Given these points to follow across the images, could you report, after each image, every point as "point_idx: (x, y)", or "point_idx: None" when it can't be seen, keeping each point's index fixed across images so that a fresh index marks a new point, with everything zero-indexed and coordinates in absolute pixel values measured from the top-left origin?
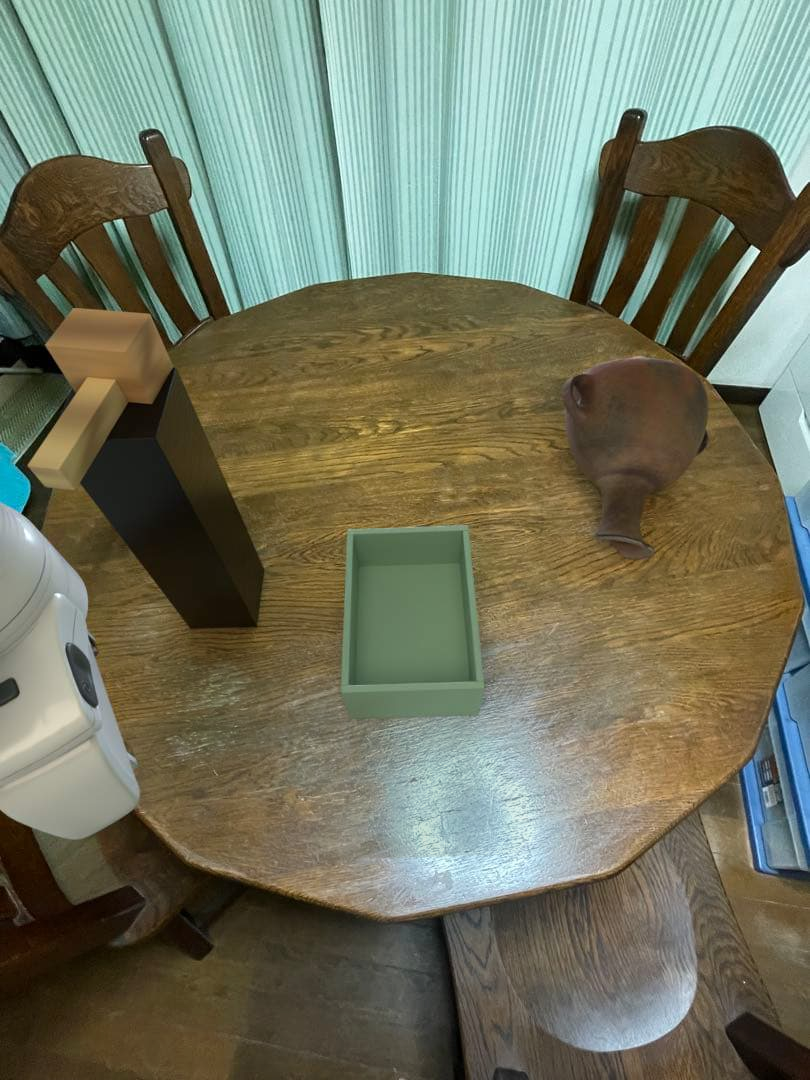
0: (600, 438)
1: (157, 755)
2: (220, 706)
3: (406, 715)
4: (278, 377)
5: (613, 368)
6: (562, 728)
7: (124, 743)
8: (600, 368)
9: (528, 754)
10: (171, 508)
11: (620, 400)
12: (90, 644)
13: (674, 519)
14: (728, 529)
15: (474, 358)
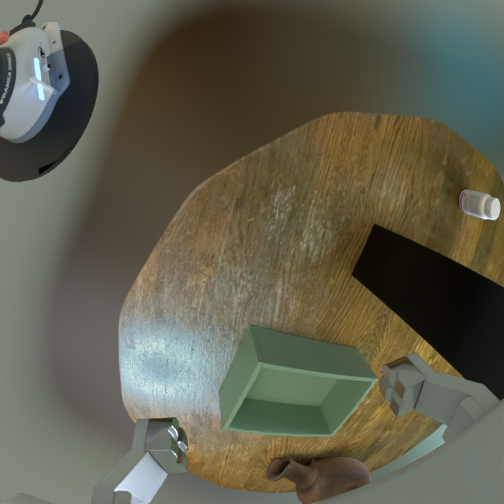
0: (332, 488)
1: (284, 176)
2: (302, 233)
3: (234, 360)
4: None
5: None
6: (196, 419)
7: (181, 471)
8: None
9: (187, 403)
10: (473, 357)
11: None
12: (396, 415)
13: None
14: (265, 482)
15: (423, 415)
